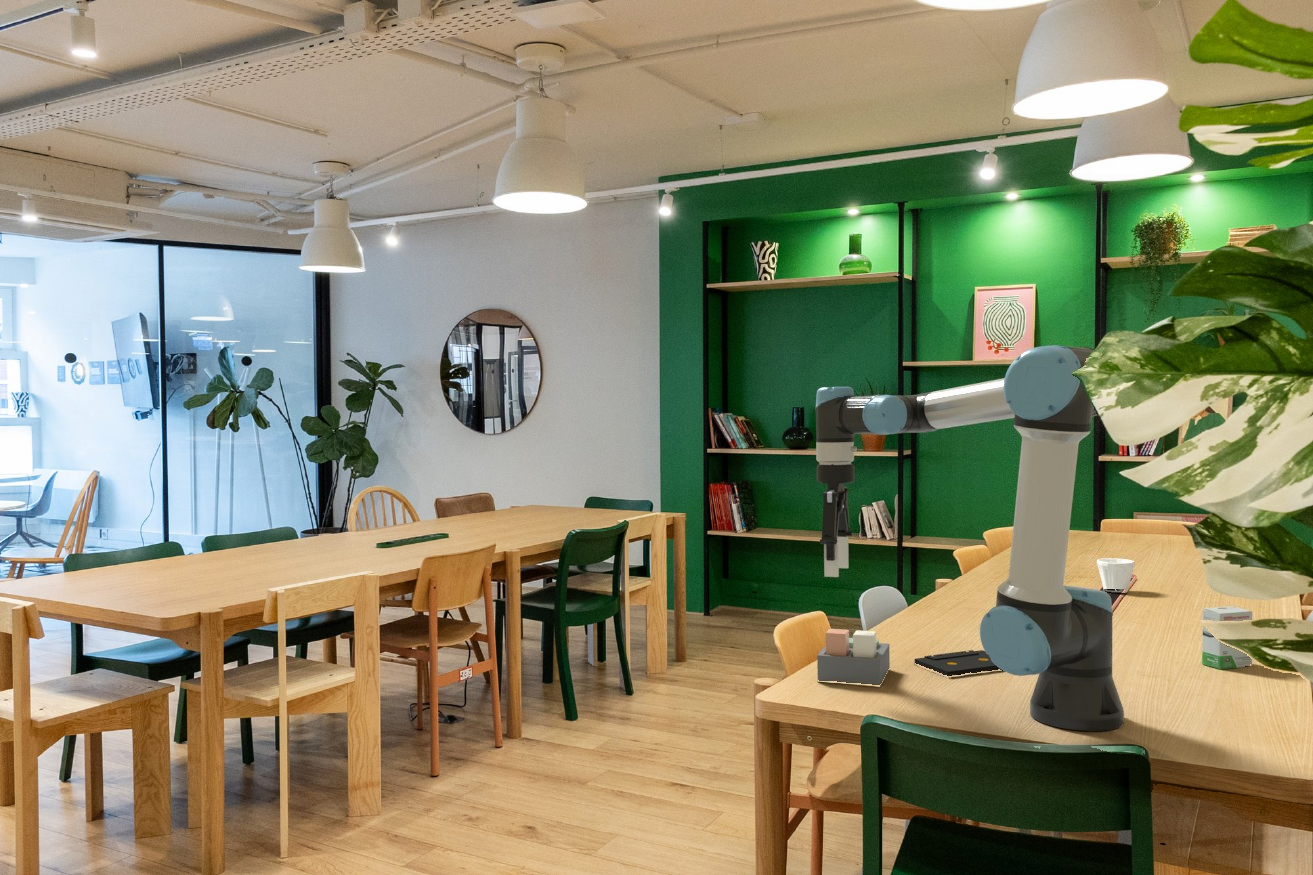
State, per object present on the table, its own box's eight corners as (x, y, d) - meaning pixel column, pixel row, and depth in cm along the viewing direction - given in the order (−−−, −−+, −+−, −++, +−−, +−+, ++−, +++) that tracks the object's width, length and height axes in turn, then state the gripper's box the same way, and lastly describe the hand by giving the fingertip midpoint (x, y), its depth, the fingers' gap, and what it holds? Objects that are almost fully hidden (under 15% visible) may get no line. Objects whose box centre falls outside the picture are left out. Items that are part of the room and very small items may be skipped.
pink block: (845, 663, 196) (845, 634, 196) (826, 662, 198) (825, 632, 198) (849, 658, 200) (848, 629, 200) (829, 657, 201) (829, 628, 201)
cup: (1089, 590, 290) (1089, 559, 289) (1116, 588, 293) (1116, 557, 292) (1114, 596, 280) (1114, 564, 280) (1142, 593, 283) (1142, 562, 283)
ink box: (1220, 670, 201) (1219, 612, 201) (1200, 664, 206) (1200, 608, 205) (1254, 666, 203) (1253, 609, 203) (1234, 660, 208) (1234, 605, 208)
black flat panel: (982, 658, 216) (982, 648, 216) (1019, 670, 205) (1019, 660, 205) (913, 667, 209) (913, 657, 209) (948, 680, 198) (947, 670, 198)
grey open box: (880, 687, 192) (879, 654, 192) (817, 682, 197) (817, 650, 197) (889, 669, 206) (889, 638, 205) (830, 665, 210) (830, 635, 210)
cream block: (873, 665, 194) (873, 635, 194) (853, 664, 196) (853, 634, 196) (876, 660, 198) (876, 631, 198) (856, 659, 199) (856, 630, 199)
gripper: (843, 466, 186) (845, 582, 186) (863, 460, 207) (864, 564, 208) (804, 466, 189) (806, 580, 189) (827, 460, 210) (829, 562, 211)
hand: (836, 572), depth 198 cm, fingers open, 10 cm apart
